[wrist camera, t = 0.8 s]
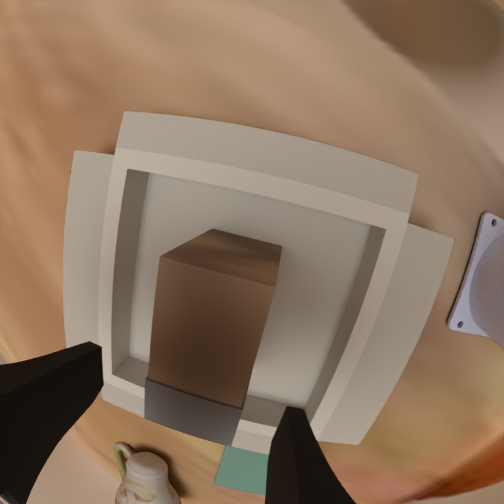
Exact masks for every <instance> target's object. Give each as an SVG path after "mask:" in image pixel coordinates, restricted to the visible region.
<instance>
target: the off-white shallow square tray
mask: <svg viewBox="0 0 504 504" xmlns="http://www.w3.org/2000/svg"><path fill="white" fill-rule="evenodd" d="M418 177H419V174H417V173H414V172H411V171H409V170H406V169H403V168H400V167H398V166H395V165H392V164H389V163H386V162H383V161H380V160H377V159H374V158H371V157H368V156H365V155H362V154H358V153H355V152H352V151H348V150H345V149H342V148H338V147H334V146H331V145H327V144H324V143H320V142H316V141H312V140H308V139H304V138H300V137H296V136H292V135H287V134H283V133H278V132H274V131H269V130H264V129H259V128H254V127H249V126H243V125H238V124H232V123H226V122H220V121H213V120H207V119H200V118H192V117H184V116H175V115H166V114H155V113H143V112H128V111H124V115H123V119H122V123H121V127H120V131H119V136H118V140H117V145H116V150H115V154H114V155H110V154H103V153H95V152H86V151H77V150H75V153H74V158H73V164H72V170H71V176H70V183H69V191H68V199H67V208H66V218H65V231H64V249H63V307H64V325H65V337H66V348H69V347H72V346H75V345H78V344H81V343H85V342H88V341H91V342H93V343H95V344H97V345H99V346H102V362H103V379H104V386H103V387H102V389H101V390H102V399H103V400H106V401H108V402H110V403H112V404H114V405H116V406H118V407H121V408H123V409H125V410H127V411H130V412H132V413H134V414H137V415H139V416H141V417H144V399H145V378H146V377H147V376H148V372H149V355H150V341H151V329H152V318H153V308H154V299H155V290H156V282H157V274H158V266H159V259H160V256H161V255H163V254H165V253H167V252H169V251H171V250H172V249H174V248H176V247H178V246H180V245H182V244H184V243H185V242H187V241H189V240H191V239H193V238H195V237H197V236H199V235H201V234H203V233H205V232H206V231H208V230H210V229H216V230H221V231H225V232H229V233H233V234H237V235H241V236H245V237H249V238H253V239H257V240H261V241H265V242H269V243H273V244H277V245H281V246H282V252H281V258H280V264H279V270H278V276H277V282H276V288H275V292H274V295H273V299H272V303H271V306H270V310H269V313H268V317H267V321H266V324H265V328H264V331H263V335H262V338H261V342H260V345H259V349H258V352H257V356H256V359H255V363H254V366H253V370H252V374H251V379H250V383H249V387H248V391H247V395H246V400H245V404H244V408H243V411H242V415H241V418H240V421H239V424H238V427H237V430H236V433H235V436H234V439H233V442H232V445H231V446H232V447H236V448H241V449H245V450H249V451H254V452H258V453H263V454H268V455H269V451H270V446H271V441H272V438H273V436H274V434H275V432H276V429H277V427H278V425H279V423H280V420H281V418H282V416H283V413H284V411H285V409H286V406H291V407H297V408H302V409H304V411H305V413H306V415H307V418H308V421H309V423H310V426H311V428H312V431H313V433H314V435H315V438H316V440H317V441H325V442H333V443H343V444H354V445H359V443H360V442H361V441H362V439H363V438H364V436H365V435H366V433H367V432H368V430H369V429H370V427H371V425H372V424H373V422H374V421H375V419H376V418H377V416H378V414H379V413H380V411H381V410H382V408H383V406H384V405H385V403H386V401H387V399H388V398H389V396H390V394H391V392H392V391H393V389H394V387H395V385H396V383H397V382H398V380H399V378H400V376H401V374H402V372H403V370H404V368H405V366H406V364H407V362H408V360H409V358H410V356H411V354H412V352H413V350H414V348H415V346H416V344H417V342H418V340H419V337H420V335H421V333H422V331H423V328H424V326H425V324H426V321H427V319H428V316H429V314H430V312H431V309H432V307H433V304H434V301H435V299H436V296H437V294H438V291H439V288H440V285H441V282H442V280H443V277H444V274H445V271H446V268H447V265H448V261H449V258H450V255H451V252H452V248H453V245H454V241H455V239H453V238H450V237H448V236H445V235H442V234H439V233H436V232H433V231H431V230H428V229H425V228H422V227H419V226H416V225H413V224H410V223H408V220H409V216H410V212H411V208H412V204H413V199H414V195H415V191H416V186H417V182H418Z"/></svg>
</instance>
